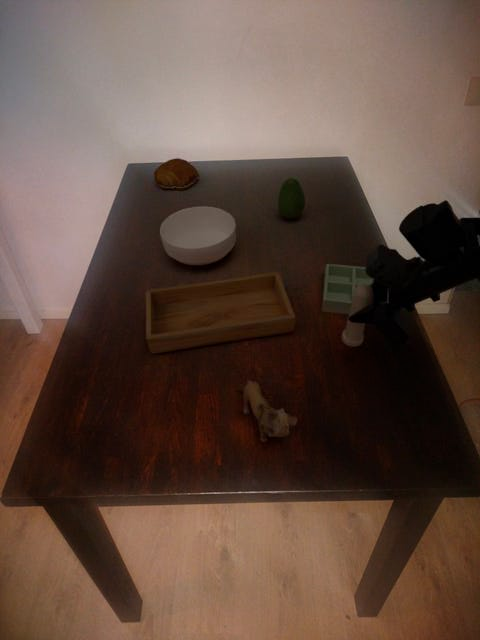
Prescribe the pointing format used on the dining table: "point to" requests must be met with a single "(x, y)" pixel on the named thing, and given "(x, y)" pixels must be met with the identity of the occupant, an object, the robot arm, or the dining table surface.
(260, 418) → the lion figurine
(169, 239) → the bowl
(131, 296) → the dining table surface
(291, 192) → the fruit
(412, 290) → the robot arm
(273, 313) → the tray
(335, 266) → the grid
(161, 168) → the croissant
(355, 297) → the beige rounded cylinder
